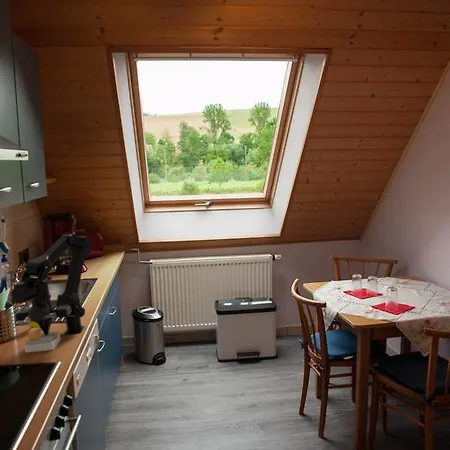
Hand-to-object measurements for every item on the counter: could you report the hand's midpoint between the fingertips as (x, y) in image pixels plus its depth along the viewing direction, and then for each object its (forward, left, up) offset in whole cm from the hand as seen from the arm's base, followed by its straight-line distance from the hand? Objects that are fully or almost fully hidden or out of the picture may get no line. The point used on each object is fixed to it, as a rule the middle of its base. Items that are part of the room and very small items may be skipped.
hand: (46, 335), depth 164 cm
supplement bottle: (-20, -11, -4) cm, 23 cm away
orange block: (0, -4, -1) cm, 5 cm away
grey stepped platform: (0, -2, -4) cm, 4 cm away
